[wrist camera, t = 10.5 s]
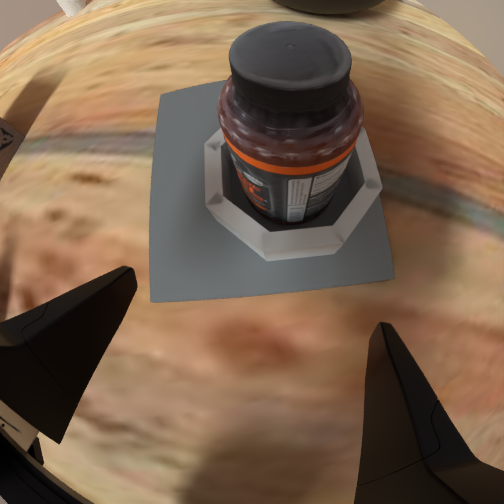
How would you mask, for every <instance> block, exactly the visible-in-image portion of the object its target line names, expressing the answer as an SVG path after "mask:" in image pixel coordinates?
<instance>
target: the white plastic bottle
mask: <svg viewBox="0 0 504 504" xmlns="http://www.w3.org/2000/svg"><path fill="white" fill-rule="evenodd" d="M57 2H58V3H59V5H60V6H61V8H62V9H63V10H64V12H65V13H66V15H67V16H68V17H71V16H73V15H75V14H76V13H78V12H79V11H80V10H82V9H83V8H84V7H85V6H86V3H85V1H84V0H57Z"/></svg>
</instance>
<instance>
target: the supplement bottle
mask: <svg viewBox="0 0 504 504" xmlns="http://www.w3.org/2000/svg"><path fill="white" fill-rule="evenodd" d="M229 61H230V67H231V72H232V75H231V76H230V77H229V78H228V80H227V81H226V83H225V84H224V86H223V88H222V90H221V92H220V95H219V100H218V105H217V110H218V118H219V123H220V126H221V129H222V132H223V135H224V139H225V141H226V145H227V147H228V149H229V151H230V155H231V158H232V160H233V163H234V165H235V168H236V170H237V174H238V176H239V179H240V182H241V185H242V187H243V190H244V193H245V196H246V198H247V199H248V201H249V203H250V204H251V206H252V207H253V208H254V209H255V210H256V211H257V212H258V213H259V214H260V215H261V216H263V217H264V218H266V219H268V220H270V221H272V222H274V223H277V224H282V225H298V224H303V223H306V222H309V221H311V220H313V219H315V218H316V217H318V216H319V215H320V214H321V213H323V212H324V211H325V209H326V208H327V207H328V205H329V203H330V202H331V200H332V198H333V196H334V194H335V191H336V189H337V187H338V185H339V182H340V180H341V178H342V175H343V173H344V171H345V168H346V166H347V163H348V161H349V159H350V156H351V154H352V151H353V149H354V146H355V144H356V141H357V138H358V136H359V133H360V130H361V126H362V123H363V113H364V110H363V104H362V100H361V97H360V95H359V92H358V90H357V88H356V87H355V85H354V84H353V82H352V81H351V80H350V79H349V74H350V70H351V64H352V59H351V53H350V51H349V49H348V47H347V45H346V44H345V43H344V42H343V41H342V40H341V39H340V38H339V37H338V36H337V35H335V34H333V33H331V32H329V31H328V30H326V29H323V28H321V27H318V26H314V25H312V24H306V23H301V22H292V21H284V22H273V23H267V24H264V25H260V26H257V27H255V28H252V29H250V30H248V31H246V32H245V33H243V34H242V35H240V36H239V37H238V38H237V39H236V40H235V41H234V42H233V44H232V45H231V48H230V51H229Z"/></svg>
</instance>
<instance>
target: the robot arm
mask: <svg viewBox="0 0 504 504" xmlns="http://www.w3.org/2000/svg"><path fill="white" fill-rule="evenodd" d="M136 290H137V280H136V276H135V272H134V269H133V268H131V267H128V266H121V267H119V268H117V269H115V270H113V271H111V272H108V273H106V274H104V275H102V276H100V277H98V278H95V279H93V280H91V281H89V282H87V283H85V284H83V285H81V286H79V287H77V288H74V289H72V290H70V291H68V292H66V293H64V294H62V295H60V296H58V297H56V298H54V299H52V300H50V301H48V302H46V303H44V304H42V305H40V306H38V307H36V308H34V309H32V310H29V311H27V312H25V313H22V314H20V315H18V316H15V317H13V318H11V319H8V320H6V321H4V322H1V323H0V495H1V497H2V498H3V499H4V500H5V501H6V502H7V503H8V504H94V503H92V502H91V501H89V500H88V499H86V498H85V497H83V496H82V495H80V494H79V493H77V492H76V491H74V490H73V489H71V488H70V487H69V486H67V485H66V484H64V483H63V482H62V481H60V480H59V479H58V478H57V477H55V476H54V475H53V474H51V473H50V472H49V471H48V470H46V469H45V468H44V467H43V464H44V460H43V456H42V452H41V447H40V442H39V438H38V437H37V435H38V433H39V431H40V432H41V433H43V434H44V435H46V436H47V437H49V438H50V439H52V440H53V441H55V442H56V443H58V444H60V443H61V441H62V439H63V437H64V434H65V432H66V430H67V427H68V425H69V423H70V421H71V419H72V416H73V414H74V412H75V410H76V408H77V406H78V403H79V401H80V399H81V397H82V395H83V393H84V391H85V389H86V387H87V385H88V383H89V381H90V379H91V377H92V375H93V373H94V371H95V369H96V368H97V366H98V364H99V362H100V360H101V358H102V356H103V355H104V353H105V351H106V349H107V347H108V345H109V344H110V342H111V340H112V338H113V336H114V335H115V333H116V331H117V329H118V328H119V326H120V324H121V322H122V320H123V318H124V316H125V314H126V312H127V310H128V307H129V305H130V303H131V301H132V299H133V297H134V295H135V293H136ZM437 399H438V398H437V396H436V394H435V392H434V391H433V389H432V387H431V386H430V384H429V382H428V381H427V379H426V377H425V376H424V374H423V372H422V371H421V369H420V368H419V366H418V364H417V363H416V361H415V360H414V358H413V356H412V355H411V353H410V352H409V350H408V349H407V347H406V346H405V344H404V342H403V341H402V339H401V338H400V336H399V335H398V333H397V332H396V330H395V329H394V327H393V326H392V325H391V324H390V323H385V322H379V323H378V325H377V327H376V328H375V330H374V332H373V334H372V336H371V338H370V341H369V349H368V359H367V368H366V377H365V398H364V421H363V435H362V447H361V457H360V466H359V474H358V481H357V486H358V487H356V493H355V499H354V504H504V471H503V470H500V469H498V468H495V467H493V466H490V465H488V464H486V463H483V462H482V461H480V460H479V459H478V458H476V457H475V456H474V454H473V453H472V452H471V450H470V449H469V447H468V446H467V444H466V442H465V441H464V439H463V438H462V436H461V435H460V433H459V432H458V430H457V429H456V427H455V426H454V424H453V423H452V421H451V420H450V418H449V416H448V415H447V413H446V411H445V410H444V408H443V406H442V404H441V403H440V401H439V400H437Z"/></svg>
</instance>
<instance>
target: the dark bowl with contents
mask: <svg viewBox="0 0 504 504" xmlns="http://www.w3.org/2000/svg"><path fill="white" fill-rule="evenodd" d="M273 1H275V2H277V3H280V4H282V5H285V6H287V7H290V8H294V9H297V10H301V11H305V12H311V13H318V14H346V13H353V12H358V11H362V10H365V9H368V8H371V7H373V6H376V5H378V4H379V3H381V2H383V1H385V0H273Z"/></svg>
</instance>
